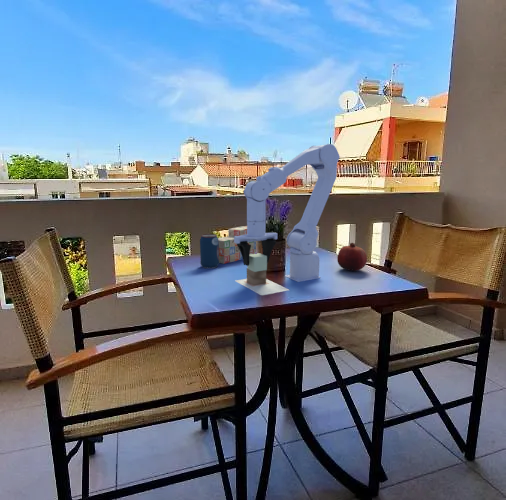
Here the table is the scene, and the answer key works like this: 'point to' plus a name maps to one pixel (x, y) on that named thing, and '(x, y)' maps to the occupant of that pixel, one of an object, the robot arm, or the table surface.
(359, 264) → the fruit
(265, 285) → the build mat
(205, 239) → the soda can
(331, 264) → the table surface
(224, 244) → the stack of blocks
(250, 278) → the walnut block
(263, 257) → the sage block
